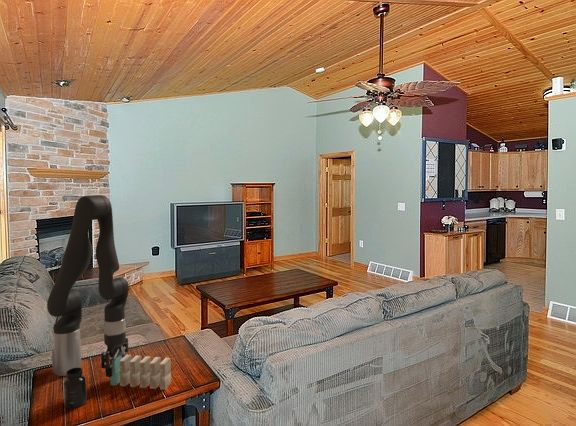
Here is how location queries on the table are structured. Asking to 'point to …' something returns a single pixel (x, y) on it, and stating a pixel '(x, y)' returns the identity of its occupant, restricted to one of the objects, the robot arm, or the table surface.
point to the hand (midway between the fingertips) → (115, 370)
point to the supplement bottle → (75, 388)
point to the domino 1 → (116, 371)
